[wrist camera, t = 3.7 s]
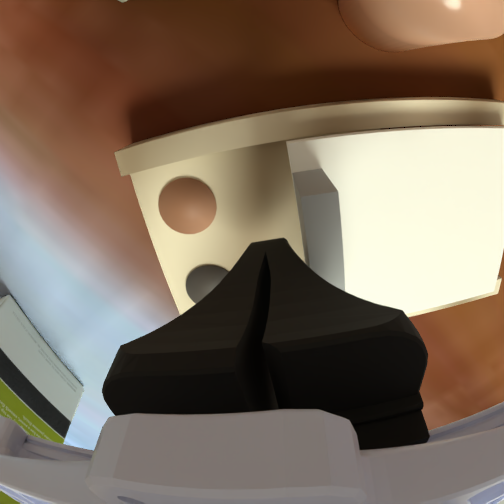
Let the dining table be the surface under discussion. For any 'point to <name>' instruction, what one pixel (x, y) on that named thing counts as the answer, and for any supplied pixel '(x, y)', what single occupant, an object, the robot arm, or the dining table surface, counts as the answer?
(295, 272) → the robot arm
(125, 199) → the dining table surface
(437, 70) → the dining table surface
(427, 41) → the peg
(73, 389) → the tea box
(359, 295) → the lid
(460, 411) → the dining table surface
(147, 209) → the plate
